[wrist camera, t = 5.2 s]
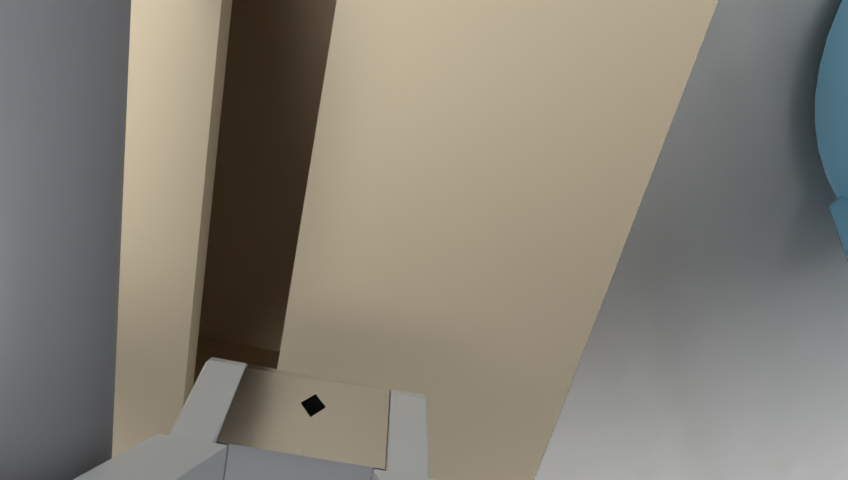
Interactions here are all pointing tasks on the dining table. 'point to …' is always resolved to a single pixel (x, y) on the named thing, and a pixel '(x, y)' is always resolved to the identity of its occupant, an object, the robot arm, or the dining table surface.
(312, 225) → the carton
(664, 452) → the dining table surface
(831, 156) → the teapot
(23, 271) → the far flap
